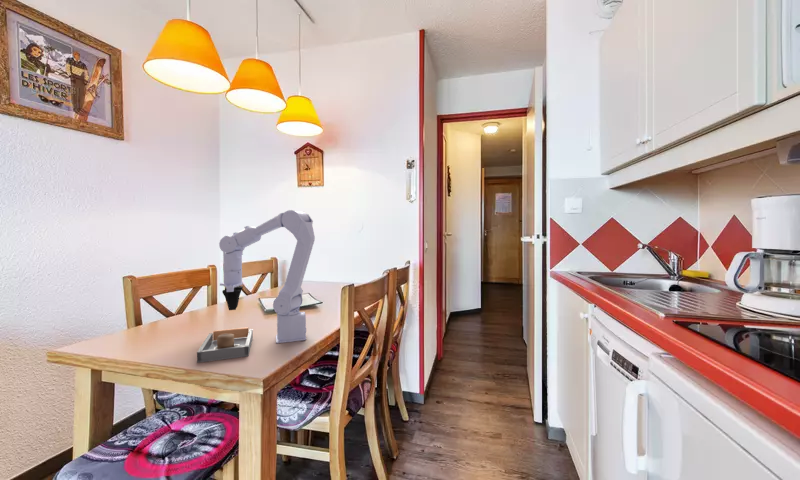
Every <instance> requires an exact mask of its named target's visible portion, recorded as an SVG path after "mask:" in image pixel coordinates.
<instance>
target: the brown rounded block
mask: <svg viewBox="0 0 800 480" xmlns="http://www.w3.org/2000/svg"><path fill="white" fill-rule="evenodd" d="M229 347H234V334H222V335H219V336H218V337H217V349H220V348H229Z"/></svg>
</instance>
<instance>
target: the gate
mask: <svg viewBox="0 0 800 480" xmlns="http://www.w3.org/2000/svg"><path fill="white" fill-rule="evenodd" d="M212 333H213V341H214V340H217V337H218V336H219V335H222V334H234V338H242V337H248V333H249V327H248V326H246V327H238V328H236V327H235V328H227V329H225V328H224V329H217V330H216V329H215V330H213V331H212Z"/></svg>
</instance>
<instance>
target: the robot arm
mask: <svg viewBox="0 0 800 480" xmlns="http://www.w3.org/2000/svg"><path fill="white" fill-rule="evenodd" d="M313 222H314V220H313V219H312V218H311V216H310V215H309V214H308V213H307V212H305V211H296V210H292V209H288V210H286V211H284V212H281V213H279V214H277V215H276V216H274V217H272V218H270V219H269V220H267V221H265V222H263V223H261V224H260V225H258V226H253V225H246V226H244V229H242V230H239V231H238V232H237V231H235V232H233V233H232V236H230V235H225V236H223V237H222V238H221V239H220V240H219V243H218V244H219V248H220V251H221V252H222V253H223V255H222V256H223V257H222V258H223V261H222V262H223V269H222V270H223V282H220V283H219V286H221V287H224V289H223V290H222V294H223V296H224V298H225V300H226V305H227V307H228V308H227V309H228V311H236V309H237V308H238V305H239V300H240V295H241V292H242V290H243V288H244V286H243V284H244V282H243V255H244V253H243V252H244V251H245V248H247V247H250V246H251V245H253V244H255V243H258V242H259V241H261V239H262V236H264V235H265V234H269V233H271V232H273V231H275V230H278V229H280V228H285V230H287V231H289V233H291V234H292V235H293V237H294V238H295V239H296V245H295V247H294V252H293V255H292V257H291V262H290V265H289V268H288V272H287V275H286V280H285V281H284V285H283V287H282V288H281V289H280V290H279V293H278V294H277V297H276V298H275V299H274V301H273V303H272V308H273V310H274V312H275V313H276V322H277V323H276V327H277V329H276V335H275V343H276V344H283V343H291V342H300V341H306V340H307V338H306V337H307V323H306V322H307V319H306V318H307V317H306V312H305V311H300V307H301V306H302V305H303V292H304V291H303V288H302V284H303V281H304V279H305V278H304V277H305V274H306V271H307V269H308V268H307V267H308V264H309V260H310V258H311V254H312V250H313V247H314V243H315V239H316V237H315V232H314V228H313V224H314V223H313Z"/></svg>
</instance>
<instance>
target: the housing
mask: <svg viewBox="0 0 800 480" xmlns="http://www.w3.org/2000/svg"><path fill="white" fill-rule="evenodd" d="M253 332H254V329H253V328H252V329H251V328H250V329H249V333H248V337H242V338H234V347H229V348H220V349H217V340H214V341H213V332H210V333H208V334H207V336H206V338H205V340H204V341H203V343H202V344H201V345H200V347H199V349H198V350H197V352H196V364H197V363H205V362H212V361H221V360H228V359H235V358H236V359H237V358H243V357H249V355H250V352H251V347H252V343H253V337H254V336H253V335H254V334H253Z"/></svg>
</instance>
